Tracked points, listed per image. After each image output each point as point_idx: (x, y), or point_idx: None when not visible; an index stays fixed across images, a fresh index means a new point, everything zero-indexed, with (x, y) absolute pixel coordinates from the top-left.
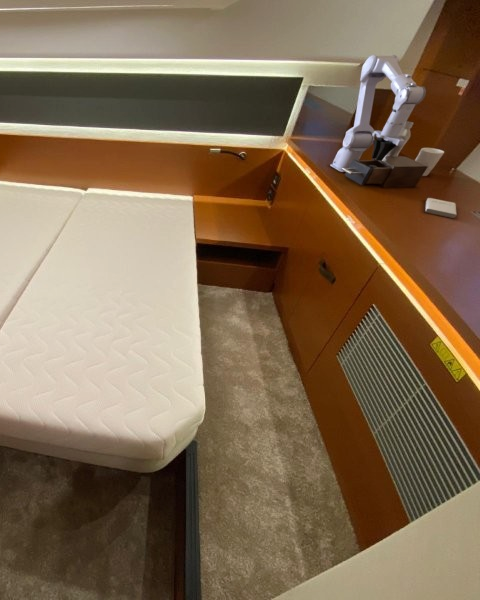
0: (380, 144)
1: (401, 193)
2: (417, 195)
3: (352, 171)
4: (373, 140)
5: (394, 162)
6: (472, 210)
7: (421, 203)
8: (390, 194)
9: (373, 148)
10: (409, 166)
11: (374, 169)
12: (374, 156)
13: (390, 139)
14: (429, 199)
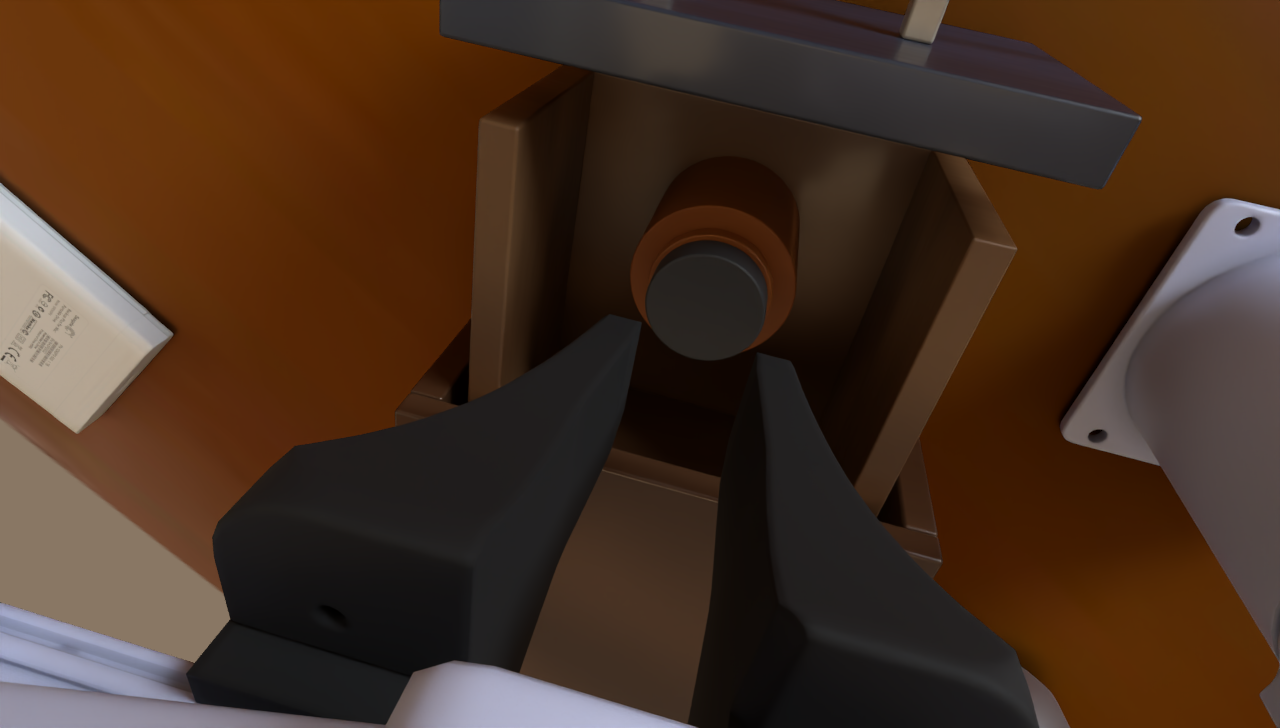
0: (727, 638)
1: (354, 299)
2: (313, 389)
3: (897, 29)
4: (1001, 660)
5: (580, 569)
6: (70, 470)
7: (118, 250)
8: (319, 156)
9: (848, 484)
10: None
11: (484, 125)
12: (745, 396)
13: (45, 714)
14: (102, 319)
